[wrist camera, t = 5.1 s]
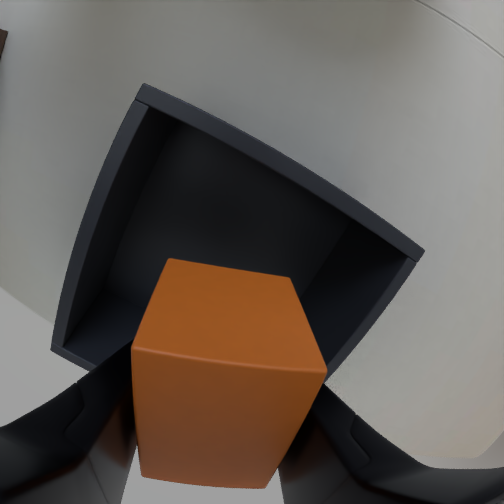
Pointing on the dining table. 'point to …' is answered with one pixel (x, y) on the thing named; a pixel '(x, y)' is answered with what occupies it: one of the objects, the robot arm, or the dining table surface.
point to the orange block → (221, 375)
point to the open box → (220, 232)
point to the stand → (2, 39)
